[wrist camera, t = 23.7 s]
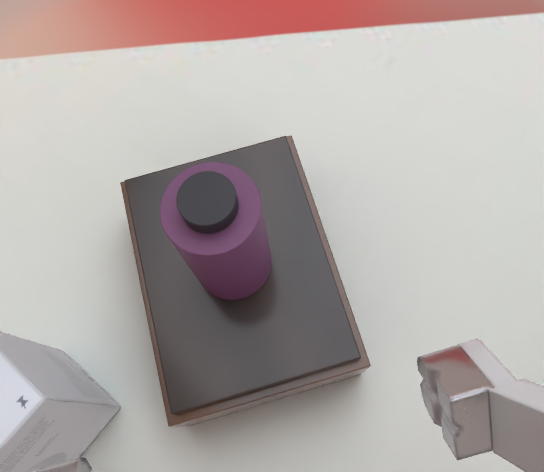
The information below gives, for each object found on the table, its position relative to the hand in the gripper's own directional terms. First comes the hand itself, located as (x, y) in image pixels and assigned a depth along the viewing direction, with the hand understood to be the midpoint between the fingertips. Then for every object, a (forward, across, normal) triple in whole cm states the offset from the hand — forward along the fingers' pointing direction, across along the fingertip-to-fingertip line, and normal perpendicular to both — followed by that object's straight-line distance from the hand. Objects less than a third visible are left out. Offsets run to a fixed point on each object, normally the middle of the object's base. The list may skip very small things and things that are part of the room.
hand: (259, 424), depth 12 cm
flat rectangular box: (+23, 0, +9) cm, 24 cm away
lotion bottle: (+18, 0, +5) cm, 19 cm away
